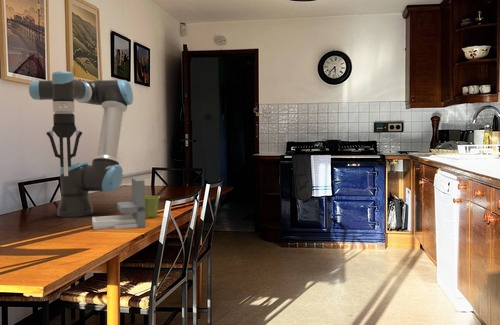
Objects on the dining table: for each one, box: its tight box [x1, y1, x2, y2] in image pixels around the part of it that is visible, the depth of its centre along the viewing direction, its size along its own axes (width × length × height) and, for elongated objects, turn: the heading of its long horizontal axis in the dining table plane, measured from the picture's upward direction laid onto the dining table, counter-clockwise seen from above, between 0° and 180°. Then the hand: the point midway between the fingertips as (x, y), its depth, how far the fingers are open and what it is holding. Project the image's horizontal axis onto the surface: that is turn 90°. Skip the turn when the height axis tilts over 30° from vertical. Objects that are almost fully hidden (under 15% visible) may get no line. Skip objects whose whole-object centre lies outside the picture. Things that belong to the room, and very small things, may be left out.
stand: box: [113, 176, 147, 230], centre depth 196 cm, size 16×12×18 cm
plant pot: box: [145, 195, 161, 219], centre depth 214 cm, size 9×9×9 cm
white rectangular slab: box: [91, 214, 137, 231], centre depth 195 cm, size 12×16×3 cm
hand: (66, 175), depth 188 cm, fingers closed
